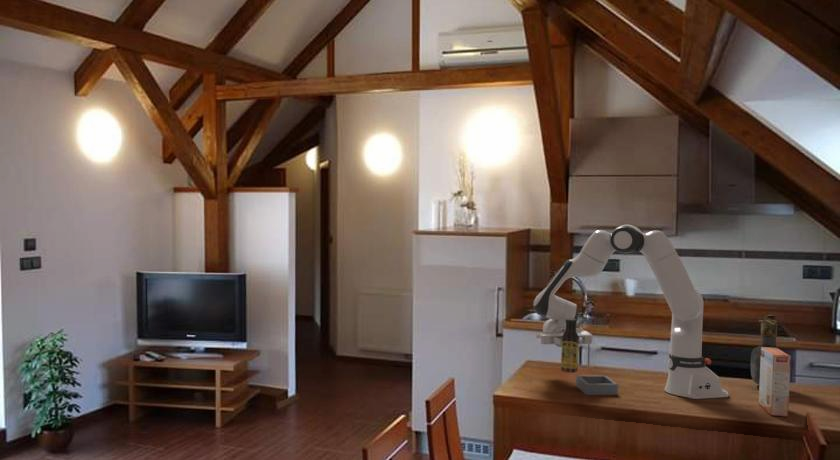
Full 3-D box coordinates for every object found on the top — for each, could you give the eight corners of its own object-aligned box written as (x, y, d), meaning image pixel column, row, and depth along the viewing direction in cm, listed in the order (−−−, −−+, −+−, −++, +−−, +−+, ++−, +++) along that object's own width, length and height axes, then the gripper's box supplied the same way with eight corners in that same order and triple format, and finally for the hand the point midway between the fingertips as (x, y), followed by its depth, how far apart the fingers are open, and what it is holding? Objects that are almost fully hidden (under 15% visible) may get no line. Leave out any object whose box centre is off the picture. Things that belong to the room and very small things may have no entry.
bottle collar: (606, 385, 264) (606, 375, 264) (617, 395, 251) (617, 384, 251) (576, 385, 263) (576, 375, 263) (586, 395, 250) (586, 384, 250)
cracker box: (789, 417, 227) (791, 355, 226) (770, 416, 228) (772, 354, 228) (776, 405, 241) (778, 347, 240) (758, 404, 242) (760, 346, 241)
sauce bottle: (559, 372, 254) (559, 319, 253) (562, 368, 260) (562, 317, 259) (577, 373, 251) (577, 320, 251) (579, 370, 257) (579, 318, 256)
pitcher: (755, 393, 256) (758, 314, 255) (746, 381, 274) (749, 307, 273) (787, 396, 253) (790, 316, 252) (776, 383, 271) (779, 309, 270)
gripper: (535, 327, 268) (543, 334, 254) (586, 327, 269) (597, 334, 255) (534, 343, 268) (543, 350, 254) (585, 343, 269) (596, 350, 255)
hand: (570, 342), depth 255 cm, fingers closed on sauce bottle, 6 cm apart
